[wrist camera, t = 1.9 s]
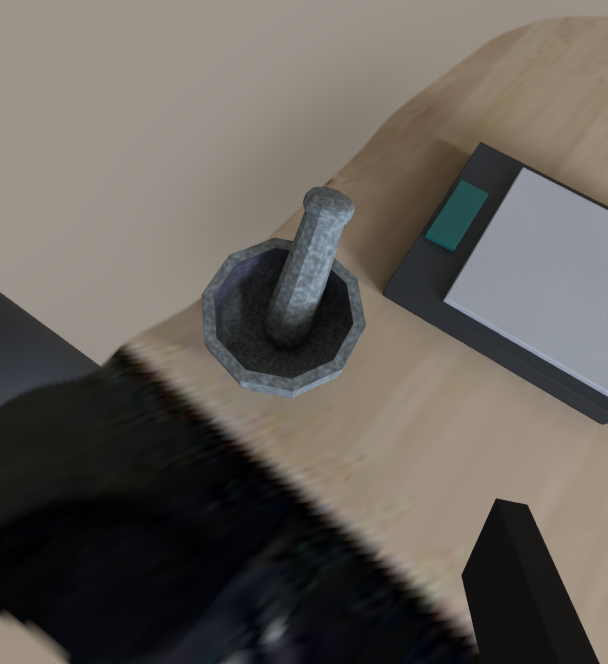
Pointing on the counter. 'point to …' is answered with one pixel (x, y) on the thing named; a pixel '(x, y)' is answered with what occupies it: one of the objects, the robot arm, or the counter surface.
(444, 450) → the counter surface
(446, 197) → the kitchen scale
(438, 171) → the counter surface
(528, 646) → the robot arm
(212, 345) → the mortar and pestle
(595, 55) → the counter surface
